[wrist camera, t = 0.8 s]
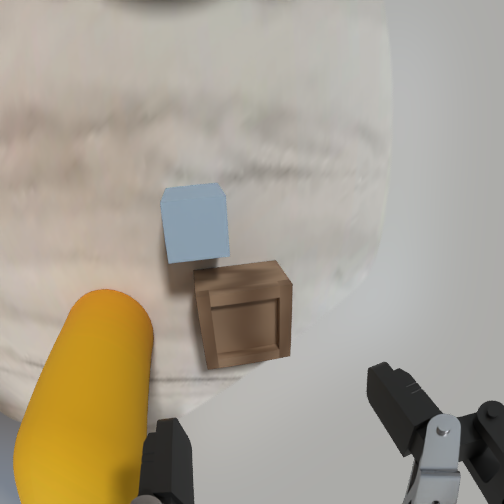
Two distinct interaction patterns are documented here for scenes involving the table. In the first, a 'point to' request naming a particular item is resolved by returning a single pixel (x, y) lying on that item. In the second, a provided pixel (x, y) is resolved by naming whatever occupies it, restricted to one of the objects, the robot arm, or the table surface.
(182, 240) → the lid block
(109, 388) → the beer bottle
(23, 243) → the table surface
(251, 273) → the walnut base
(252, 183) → the table surface
